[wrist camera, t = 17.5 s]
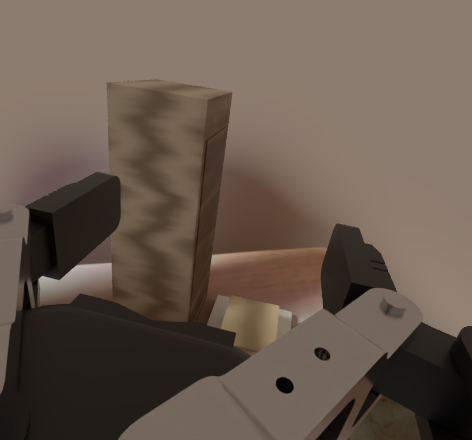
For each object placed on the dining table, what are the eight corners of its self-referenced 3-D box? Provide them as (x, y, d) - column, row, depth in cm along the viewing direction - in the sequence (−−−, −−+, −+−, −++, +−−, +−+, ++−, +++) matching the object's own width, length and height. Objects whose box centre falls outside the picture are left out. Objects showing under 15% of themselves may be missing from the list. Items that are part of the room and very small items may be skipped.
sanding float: (181, 468, 30) (184, 442, 29) (227, 316, 49) (231, 294, 48) (256, 490, 30) (264, 464, 28) (274, 327, 49) (279, 305, 47)
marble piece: (348, 339, 51) (357, 318, 49) (450, 413, 42) (465, 391, 40) (277, 397, 40) (284, 373, 39) (392, 515, 31) (409, 490, 29)
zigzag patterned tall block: (113, 332, 45) (106, 82, 32) (149, 282, 56) (156, 79, 42) (184, 350, 44) (209, 99, 31) (207, 295, 55) (233, 92, 41)
